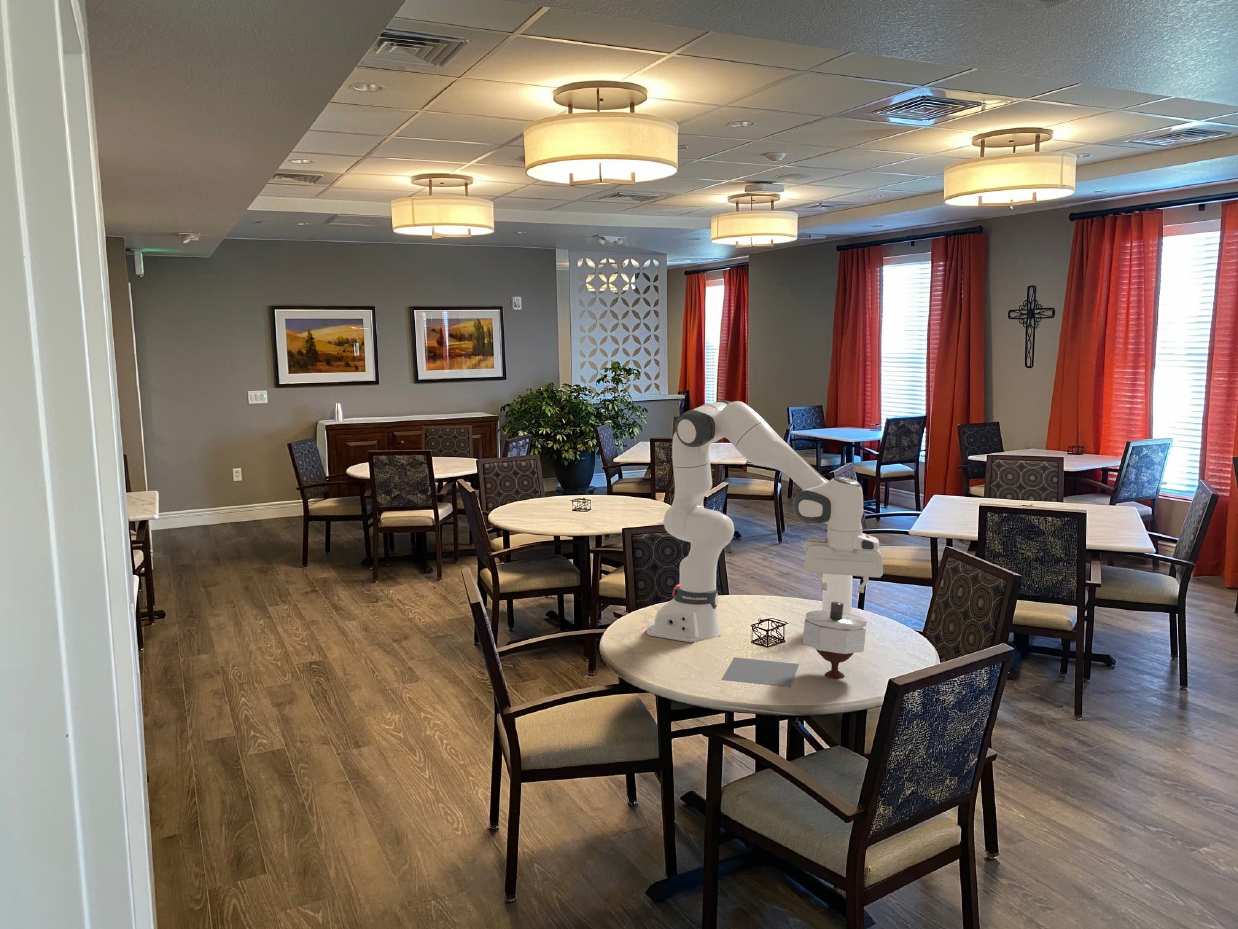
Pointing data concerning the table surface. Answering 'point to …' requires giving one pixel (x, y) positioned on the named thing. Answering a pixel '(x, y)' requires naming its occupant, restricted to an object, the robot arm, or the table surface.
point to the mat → (761, 672)
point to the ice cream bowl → (834, 663)
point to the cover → (834, 630)
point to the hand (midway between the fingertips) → (842, 591)
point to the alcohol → (837, 591)
